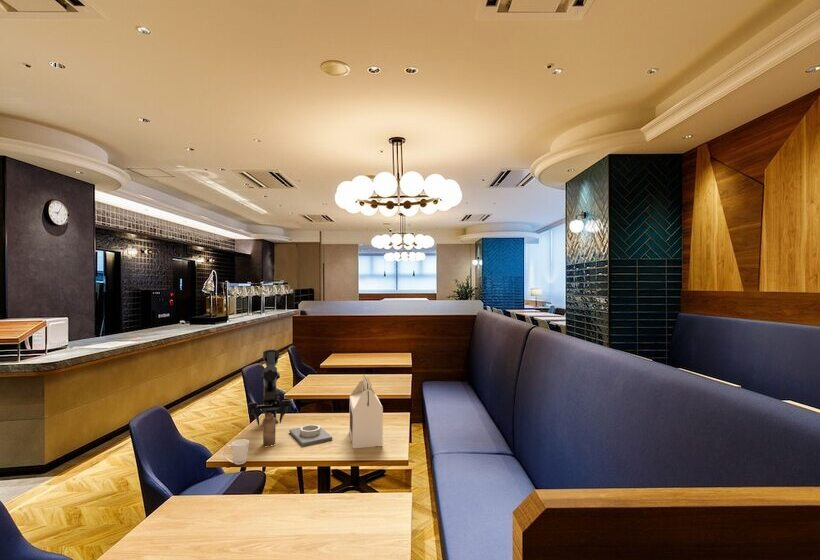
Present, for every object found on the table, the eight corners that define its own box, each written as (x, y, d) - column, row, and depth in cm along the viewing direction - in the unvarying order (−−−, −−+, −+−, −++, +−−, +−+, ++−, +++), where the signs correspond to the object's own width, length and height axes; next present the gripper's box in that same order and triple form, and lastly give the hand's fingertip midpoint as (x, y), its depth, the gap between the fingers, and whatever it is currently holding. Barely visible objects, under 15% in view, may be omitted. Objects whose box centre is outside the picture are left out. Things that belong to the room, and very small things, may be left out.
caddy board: (289, 432, 203) (289, 424, 203) (317, 427, 210) (317, 419, 210) (302, 446, 186) (302, 437, 186) (332, 440, 193) (332, 431, 193)
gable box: (382, 446, 186) (383, 383, 186) (353, 448, 183) (353, 385, 184) (376, 429, 208) (376, 373, 208) (349, 431, 205) (349, 374, 205)
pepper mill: (261, 443, 189) (262, 412, 189) (273, 441, 191) (273, 410, 191) (264, 447, 184) (264, 415, 184) (276, 445, 187) (276, 413, 187)
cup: (246, 465, 166) (246, 445, 166) (220, 466, 165) (220, 446, 165) (251, 458, 173) (251, 438, 173) (226, 459, 172) (226, 439, 172)
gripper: (248, 385, 191) (246, 416, 180) (290, 382, 197) (291, 413, 186) (249, 398, 199) (247, 429, 188) (290, 395, 204) (290, 425, 194)
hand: (269, 423), depth 189 cm, fingers open, 9 cm apart
